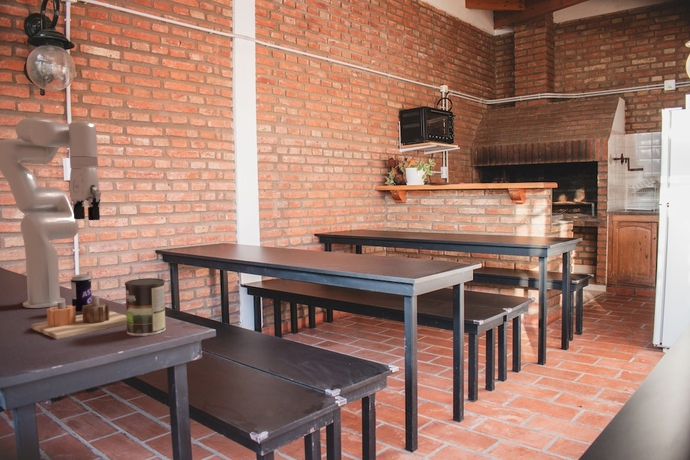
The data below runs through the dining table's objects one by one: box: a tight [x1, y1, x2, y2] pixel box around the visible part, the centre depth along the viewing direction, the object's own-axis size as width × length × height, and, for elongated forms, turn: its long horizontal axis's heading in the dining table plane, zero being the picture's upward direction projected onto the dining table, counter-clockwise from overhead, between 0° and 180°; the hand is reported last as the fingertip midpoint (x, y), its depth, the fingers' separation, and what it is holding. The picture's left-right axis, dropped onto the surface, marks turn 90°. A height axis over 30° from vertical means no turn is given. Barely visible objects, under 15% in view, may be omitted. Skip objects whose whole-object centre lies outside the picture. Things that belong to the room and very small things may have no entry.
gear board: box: [30, 295, 127, 340], centre depth 149 cm, size 17×22×8 cm
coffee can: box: [124, 277, 167, 337], centre depth 142 cm, size 10×10×14 cm
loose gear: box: [46, 304, 77, 327], centre depth 147 cm, size 7×7×4 cm
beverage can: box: [70, 273, 93, 315], centre depth 165 cm, size 6×6×12 cm
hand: (86, 219), depth 157 cm, fingers open, 9 cm apart
